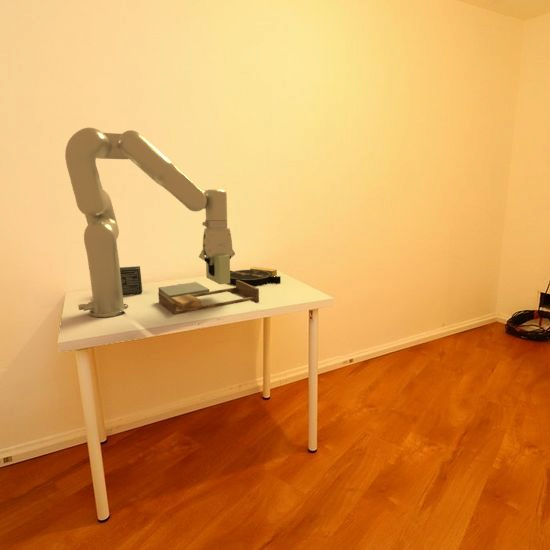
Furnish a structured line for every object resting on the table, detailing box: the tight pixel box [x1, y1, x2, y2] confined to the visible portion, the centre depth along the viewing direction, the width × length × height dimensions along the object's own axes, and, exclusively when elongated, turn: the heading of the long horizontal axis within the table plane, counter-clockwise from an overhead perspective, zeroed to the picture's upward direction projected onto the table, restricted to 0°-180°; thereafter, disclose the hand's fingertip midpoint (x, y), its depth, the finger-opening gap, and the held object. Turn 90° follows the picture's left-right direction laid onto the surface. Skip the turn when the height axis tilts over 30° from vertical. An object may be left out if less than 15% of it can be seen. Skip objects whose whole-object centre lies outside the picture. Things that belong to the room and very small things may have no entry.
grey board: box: [157, 281, 210, 298], centre depth 153 cm, size 16×14×2 cm
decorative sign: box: [229, 266, 282, 287], centre depth 177 cm, size 29×3×25 cm
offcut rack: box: [157, 280, 260, 316], centre depth 141 cm, size 32×16×5 cm, turn 123°
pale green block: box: [205, 254, 231, 285], centre depth 141 cm, size 4×12×10 cm, turn 33°
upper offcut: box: [171, 294, 202, 309], centre depth 136 cm, size 7×9×2 cm
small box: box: [120, 265, 143, 296], centre depth 155 cm, size 11×6×10 cm, turn 104°
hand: (217, 273), depth 141 cm, fingers closed on pale green block, 4 cm apart
